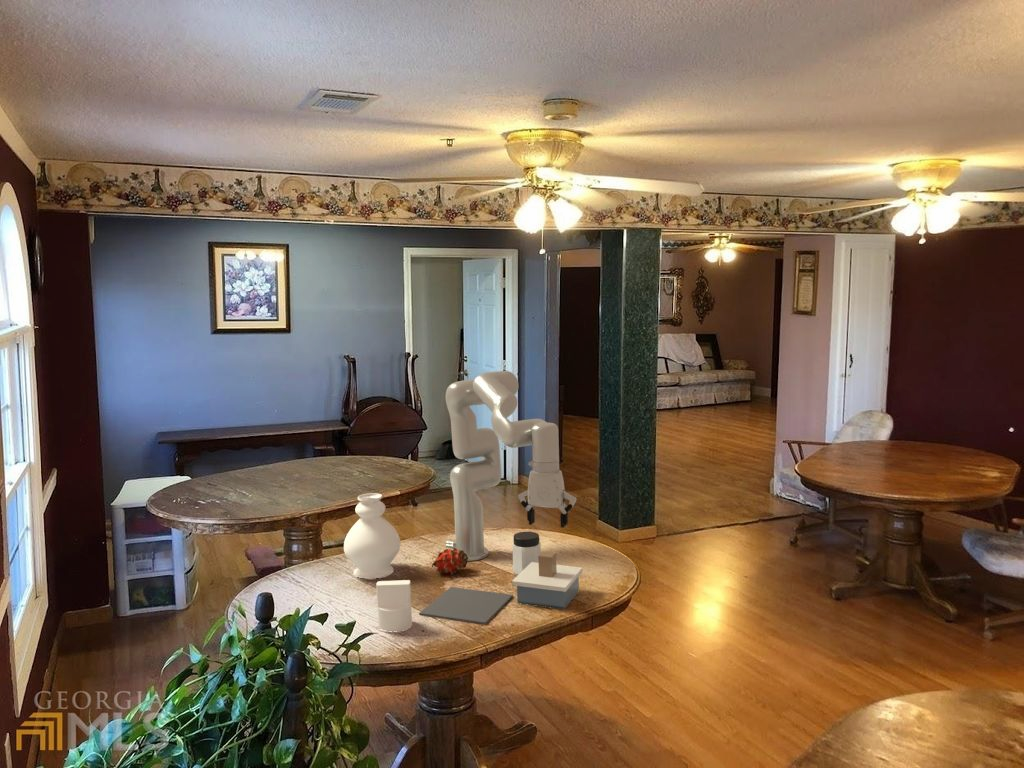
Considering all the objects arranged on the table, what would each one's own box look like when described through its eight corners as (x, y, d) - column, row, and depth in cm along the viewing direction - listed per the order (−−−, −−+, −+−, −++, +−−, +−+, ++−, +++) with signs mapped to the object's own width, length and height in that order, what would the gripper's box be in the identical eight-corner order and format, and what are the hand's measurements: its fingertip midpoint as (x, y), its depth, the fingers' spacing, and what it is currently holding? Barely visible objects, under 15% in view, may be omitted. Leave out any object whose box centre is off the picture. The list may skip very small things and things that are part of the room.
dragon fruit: (472, 575, 252) (436, 586, 248) (463, 553, 258) (428, 564, 254) (472, 560, 246) (435, 571, 242) (464, 538, 252) (427, 548, 248)
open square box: (517, 604, 225) (516, 584, 224) (534, 586, 238) (533, 567, 237) (564, 610, 220) (563, 590, 219) (578, 592, 233) (578, 572, 232)
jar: (546, 572, 248) (545, 535, 247) (526, 579, 243) (525, 541, 242) (527, 565, 255) (527, 529, 254) (508, 571, 250) (507, 534, 248)
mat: (419, 615, 218) (419, 612, 218) (451, 588, 237) (450, 586, 237) (485, 624, 211) (485, 622, 211) (512, 596, 230) (512, 594, 229)
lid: (511, 585, 224) (511, 560, 223) (531, 565, 238) (531, 542, 237) (565, 591, 218) (565, 566, 217) (582, 571, 232) (582, 548, 231)
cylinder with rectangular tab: (413, 617, 217) (411, 575, 215) (410, 632, 208) (408, 588, 206) (380, 619, 217) (378, 577, 215) (376, 633, 208) (374, 589, 206)
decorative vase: (407, 577, 248) (404, 499, 244) (350, 586, 241) (346, 506, 238) (394, 559, 264) (391, 486, 261) (340, 567, 258) (336, 493, 254)
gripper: (512, 467, 223) (514, 526, 225) (571, 470, 217) (572, 531, 219) (522, 462, 230) (524, 519, 232) (579, 465, 224) (580, 523, 226)
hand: (547, 524), depth 226 cm, fingers open, 9 cm apart
